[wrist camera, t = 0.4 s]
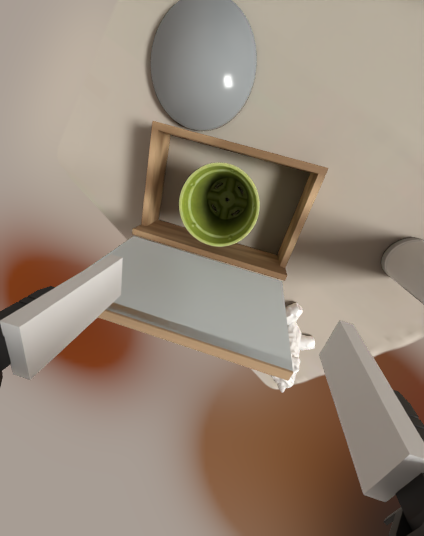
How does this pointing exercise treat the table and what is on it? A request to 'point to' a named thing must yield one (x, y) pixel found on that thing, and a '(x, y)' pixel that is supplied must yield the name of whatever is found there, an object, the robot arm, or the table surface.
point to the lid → (203, 306)
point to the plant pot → (219, 204)
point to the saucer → (203, 62)
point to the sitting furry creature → (294, 344)
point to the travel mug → (406, 265)
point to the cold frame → (235, 252)
